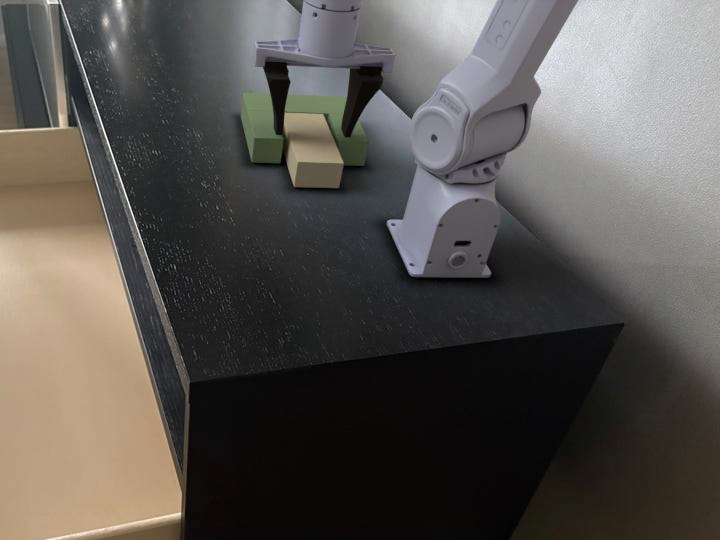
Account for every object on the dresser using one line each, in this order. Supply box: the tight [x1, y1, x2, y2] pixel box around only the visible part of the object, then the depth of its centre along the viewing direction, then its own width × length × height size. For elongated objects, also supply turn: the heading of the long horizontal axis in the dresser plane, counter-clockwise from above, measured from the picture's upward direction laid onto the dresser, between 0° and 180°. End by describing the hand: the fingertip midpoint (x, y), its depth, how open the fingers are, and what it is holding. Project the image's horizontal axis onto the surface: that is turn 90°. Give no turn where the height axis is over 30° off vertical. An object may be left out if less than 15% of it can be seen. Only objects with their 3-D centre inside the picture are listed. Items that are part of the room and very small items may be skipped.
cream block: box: [282, 113, 345, 189], centre depth 85 cm, size 12×5×3 cm, turn 6°
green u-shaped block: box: [240, 92, 370, 167], centre depth 89 cm, size 12×13×3 cm
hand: (312, 132), depth 84 cm, fingers open, 7 cm apart
